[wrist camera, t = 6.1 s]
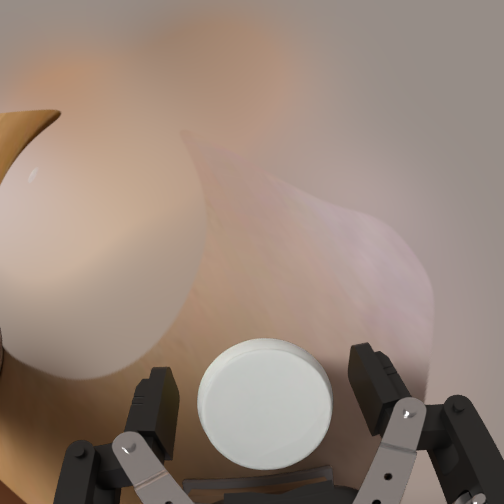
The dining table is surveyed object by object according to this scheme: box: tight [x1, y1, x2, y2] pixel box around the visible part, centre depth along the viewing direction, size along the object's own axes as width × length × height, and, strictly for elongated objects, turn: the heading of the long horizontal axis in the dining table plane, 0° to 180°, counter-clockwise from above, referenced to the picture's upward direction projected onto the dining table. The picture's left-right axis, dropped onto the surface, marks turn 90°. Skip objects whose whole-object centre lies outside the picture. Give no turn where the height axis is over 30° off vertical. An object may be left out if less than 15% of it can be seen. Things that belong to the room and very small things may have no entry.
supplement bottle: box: [197, 338, 333, 470], centre depth 13 cm, size 5×5×10 cm
